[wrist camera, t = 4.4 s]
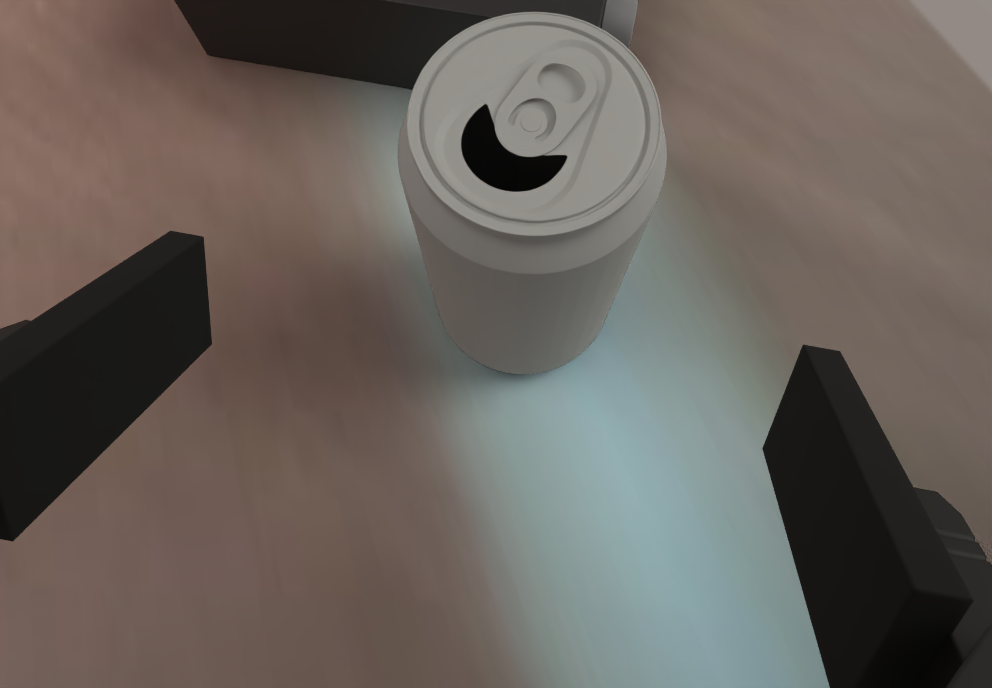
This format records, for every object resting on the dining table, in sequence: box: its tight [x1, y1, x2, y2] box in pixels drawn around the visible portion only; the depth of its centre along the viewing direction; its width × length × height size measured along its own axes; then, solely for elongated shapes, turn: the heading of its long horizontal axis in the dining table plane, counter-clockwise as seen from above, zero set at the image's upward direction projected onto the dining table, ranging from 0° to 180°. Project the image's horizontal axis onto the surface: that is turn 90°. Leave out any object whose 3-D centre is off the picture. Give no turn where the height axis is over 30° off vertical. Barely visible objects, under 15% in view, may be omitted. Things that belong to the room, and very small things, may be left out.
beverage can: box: [398, 12, 667, 374], centre depth 22 cm, size 6×6×12 cm
